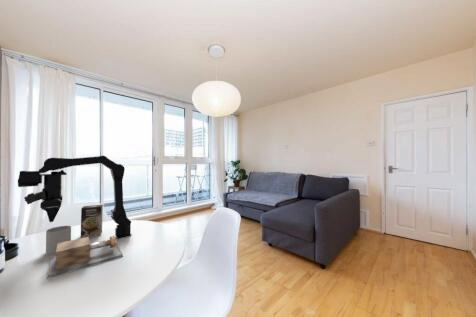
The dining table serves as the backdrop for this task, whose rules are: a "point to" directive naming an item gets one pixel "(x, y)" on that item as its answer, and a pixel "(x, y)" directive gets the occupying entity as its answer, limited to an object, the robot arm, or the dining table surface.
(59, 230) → the cup
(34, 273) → the dining table surface
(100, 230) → the coffee box
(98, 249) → the wooden block on base
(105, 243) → the shaft
